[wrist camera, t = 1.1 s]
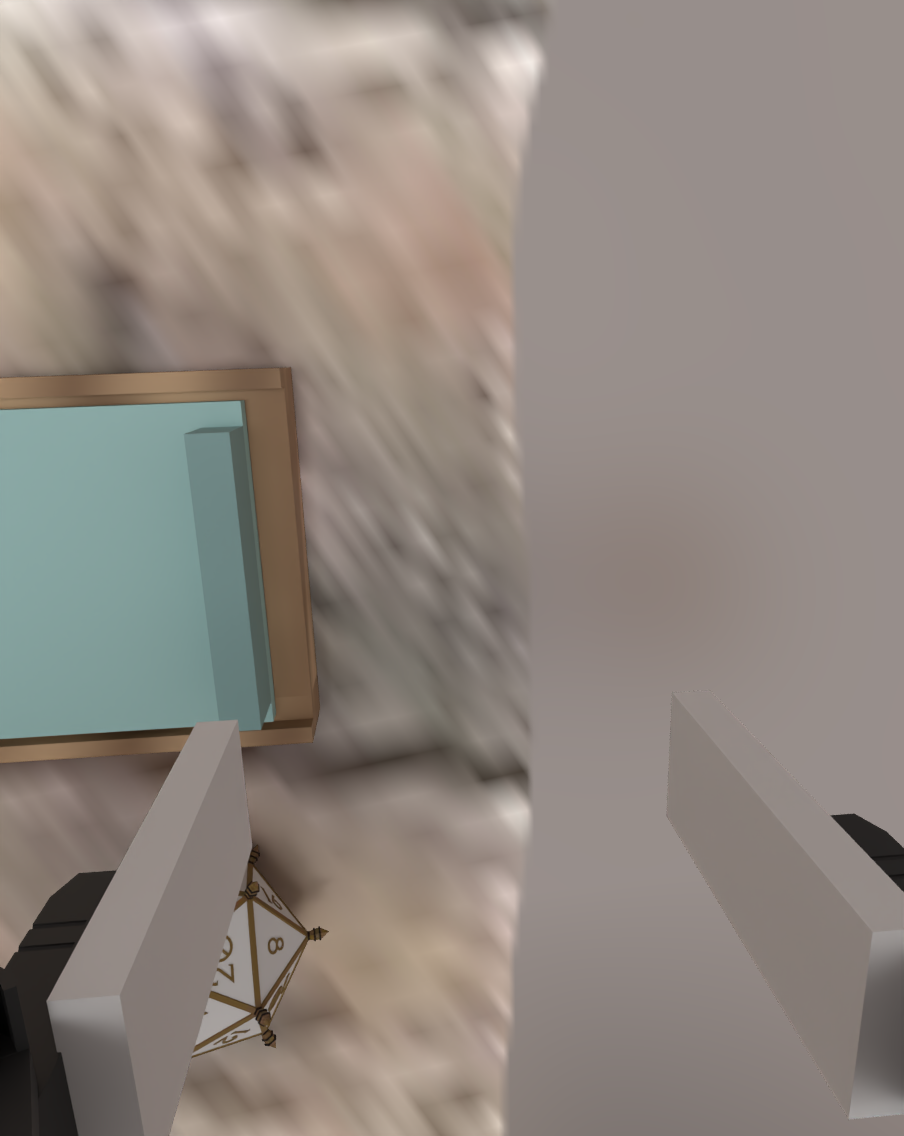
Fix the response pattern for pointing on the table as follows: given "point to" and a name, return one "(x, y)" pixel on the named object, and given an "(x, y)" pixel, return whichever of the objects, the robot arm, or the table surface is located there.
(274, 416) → the board
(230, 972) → the game die
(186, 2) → the table surface
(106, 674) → the cover
